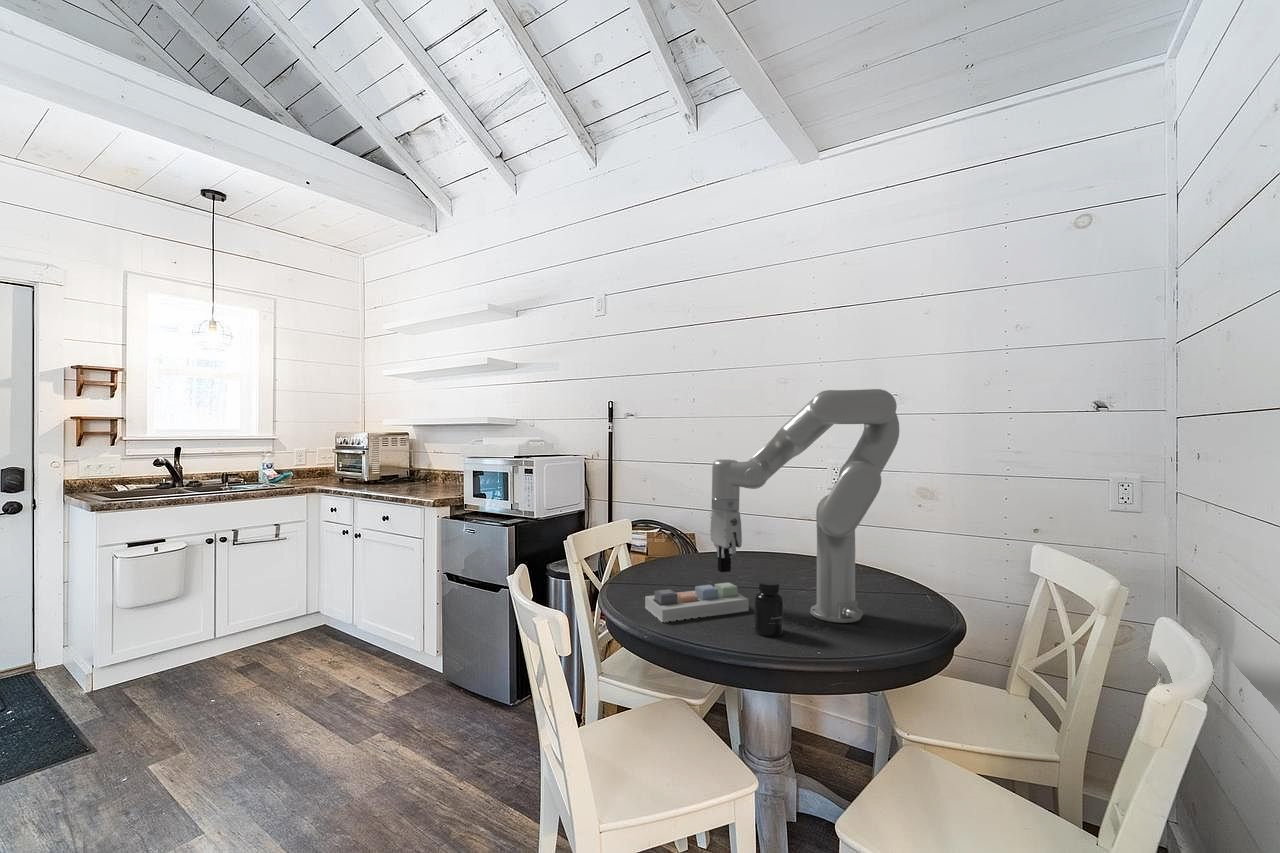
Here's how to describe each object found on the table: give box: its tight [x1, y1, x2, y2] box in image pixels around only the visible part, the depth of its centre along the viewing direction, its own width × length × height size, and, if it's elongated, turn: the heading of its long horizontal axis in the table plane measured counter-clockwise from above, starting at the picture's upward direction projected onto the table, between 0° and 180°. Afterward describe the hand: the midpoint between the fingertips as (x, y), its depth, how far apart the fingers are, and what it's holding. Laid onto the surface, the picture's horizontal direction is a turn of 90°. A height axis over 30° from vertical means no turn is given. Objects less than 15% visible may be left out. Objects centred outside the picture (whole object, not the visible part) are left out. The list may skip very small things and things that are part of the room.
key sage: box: [714, 582, 739, 598], centre depth 158 cm, size 5×5×3 cm
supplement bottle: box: [753, 579, 784, 638], centre depth 138 cm, size 7×7×12 cm
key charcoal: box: [653, 588, 678, 606], centre depth 152 cm, size 5×5×3 cm
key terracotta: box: [676, 591, 698, 603], centre depth 154 cm, size 5×5×3 cm
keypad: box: [644, 590, 750, 623], centre depth 155 cm, size 12×25×3 cm, turn 110°
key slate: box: [694, 584, 718, 601], centre depth 156 cm, size 5×5×3 cm
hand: (724, 571), depth 158 cm, fingers closed
